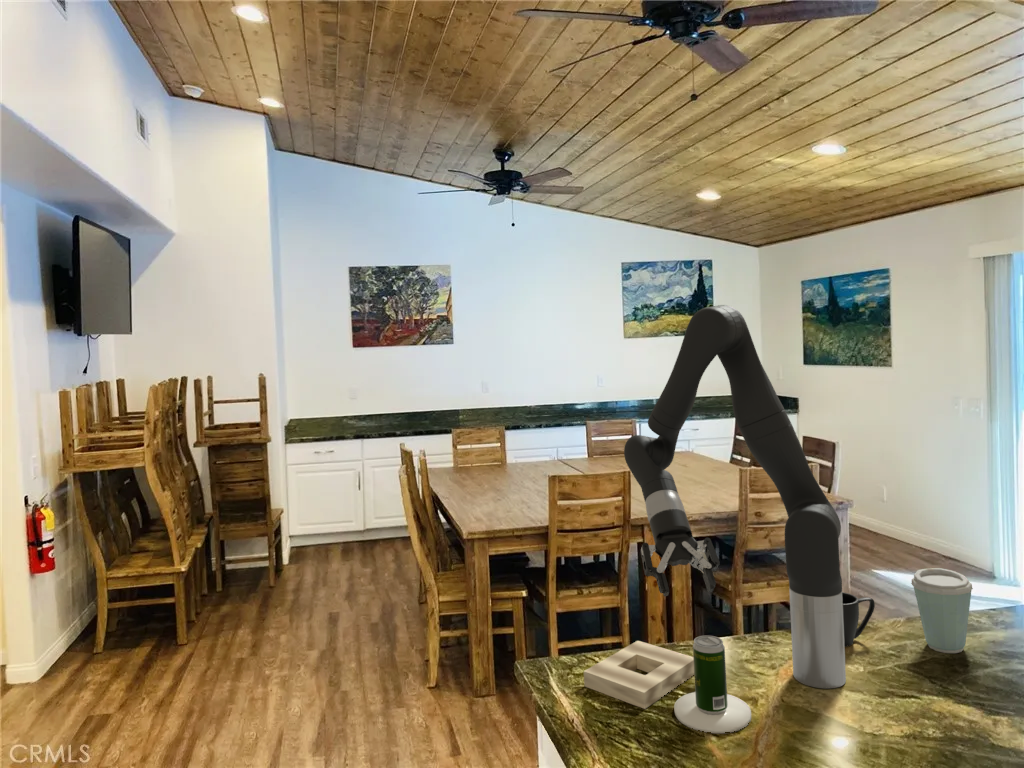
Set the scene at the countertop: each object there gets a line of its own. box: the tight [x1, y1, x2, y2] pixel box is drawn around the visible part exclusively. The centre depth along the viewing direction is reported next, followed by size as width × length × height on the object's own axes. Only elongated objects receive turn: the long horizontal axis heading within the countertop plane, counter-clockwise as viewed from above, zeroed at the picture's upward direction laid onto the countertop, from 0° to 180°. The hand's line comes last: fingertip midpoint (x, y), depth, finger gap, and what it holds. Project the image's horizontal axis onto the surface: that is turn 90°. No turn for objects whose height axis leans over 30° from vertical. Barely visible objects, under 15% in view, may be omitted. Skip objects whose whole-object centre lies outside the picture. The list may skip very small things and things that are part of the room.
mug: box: [842, 591, 876, 647], centre depth 150 cm, size 8×12×10 cm
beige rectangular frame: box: [583, 640, 694, 710], centre depth 138 cm, size 18×14×3 cm
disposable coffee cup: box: [910, 567, 974, 654], centre depth 144 cm, size 11×11×15 cm
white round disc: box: [673, 691, 752, 734], centre depth 124 cm, size 13×13×1 cm
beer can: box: [692, 635, 728, 715], centre depth 124 cm, size 5×5×12 cm
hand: (689, 592), depth 132 cm, fingers open, 8 cm apart
